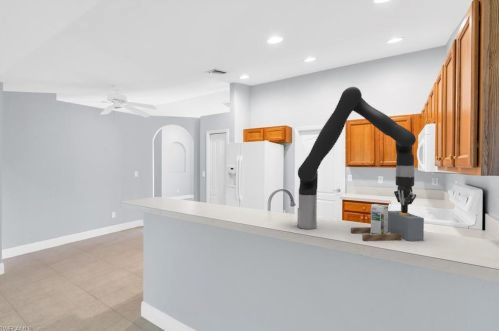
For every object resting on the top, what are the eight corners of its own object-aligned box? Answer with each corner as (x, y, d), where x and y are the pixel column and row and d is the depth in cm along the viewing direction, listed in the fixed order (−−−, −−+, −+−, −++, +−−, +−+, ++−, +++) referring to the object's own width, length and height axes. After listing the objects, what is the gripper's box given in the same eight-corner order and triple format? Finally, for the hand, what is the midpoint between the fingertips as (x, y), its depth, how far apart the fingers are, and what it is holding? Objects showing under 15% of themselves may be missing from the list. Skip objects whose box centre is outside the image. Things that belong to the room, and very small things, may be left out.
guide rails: (364, 241, 116) (364, 235, 116) (350, 232, 129) (350, 227, 129) (401, 240, 117) (401, 234, 117) (384, 231, 130) (384, 226, 130)
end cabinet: (408, 241, 115) (408, 218, 115) (386, 231, 131) (386, 210, 131) (423, 240, 116) (423, 218, 116) (400, 230, 132) (400, 210, 132)
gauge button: (402, 222, 121) (402, 213, 121) (397, 220, 125) (397, 211, 125) (411, 222, 122) (411, 213, 121) (405, 220, 126) (405, 211, 125)
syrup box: (370, 235, 123) (370, 204, 123) (375, 233, 127) (376, 203, 127) (382, 238, 119) (383, 206, 119) (388, 236, 123) (388, 204, 123)
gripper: (388, 174, 129) (388, 210, 130) (406, 176, 116) (405, 216, 116) (403, 174, 130) (402, 209, 130) (422, 176, 116) (422, 215, 117)
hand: (404, 212), depth 123 cm, fingers closed
